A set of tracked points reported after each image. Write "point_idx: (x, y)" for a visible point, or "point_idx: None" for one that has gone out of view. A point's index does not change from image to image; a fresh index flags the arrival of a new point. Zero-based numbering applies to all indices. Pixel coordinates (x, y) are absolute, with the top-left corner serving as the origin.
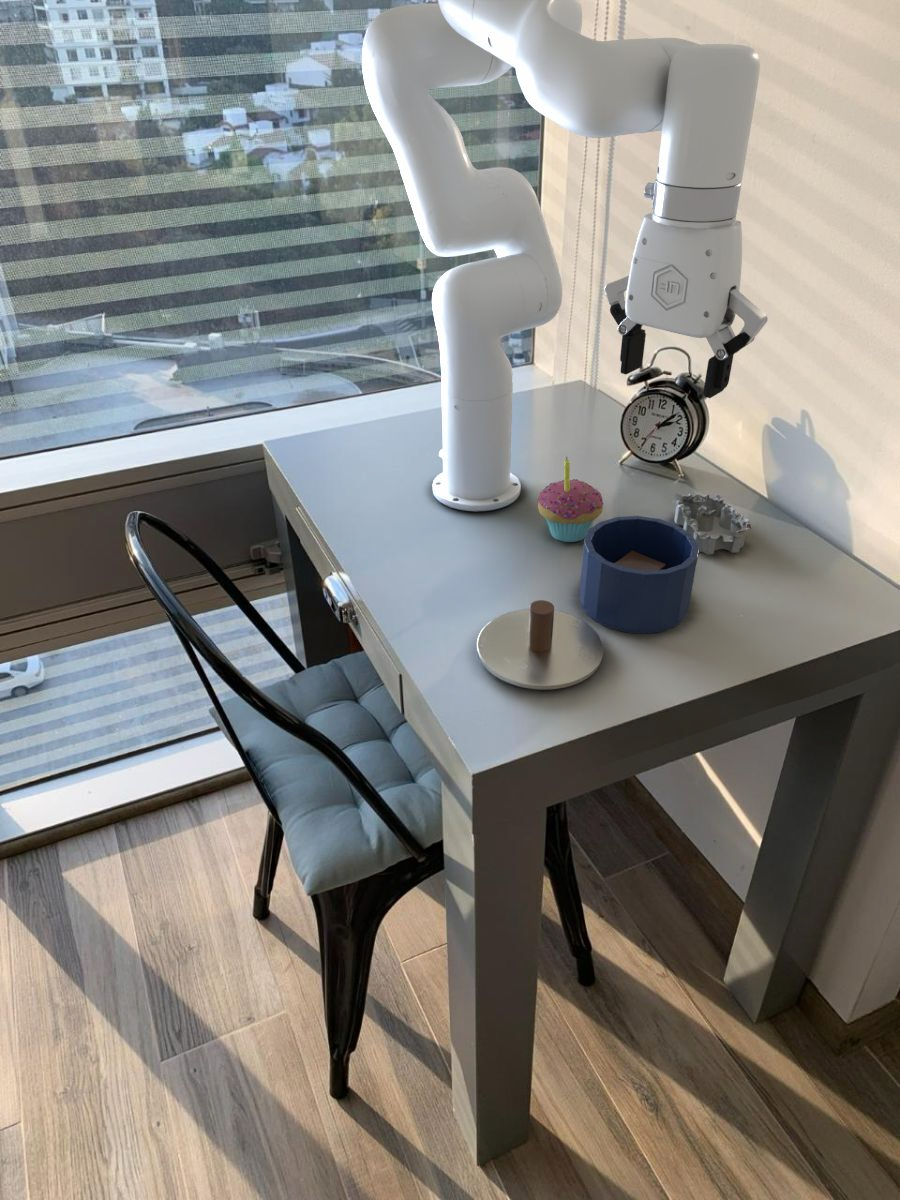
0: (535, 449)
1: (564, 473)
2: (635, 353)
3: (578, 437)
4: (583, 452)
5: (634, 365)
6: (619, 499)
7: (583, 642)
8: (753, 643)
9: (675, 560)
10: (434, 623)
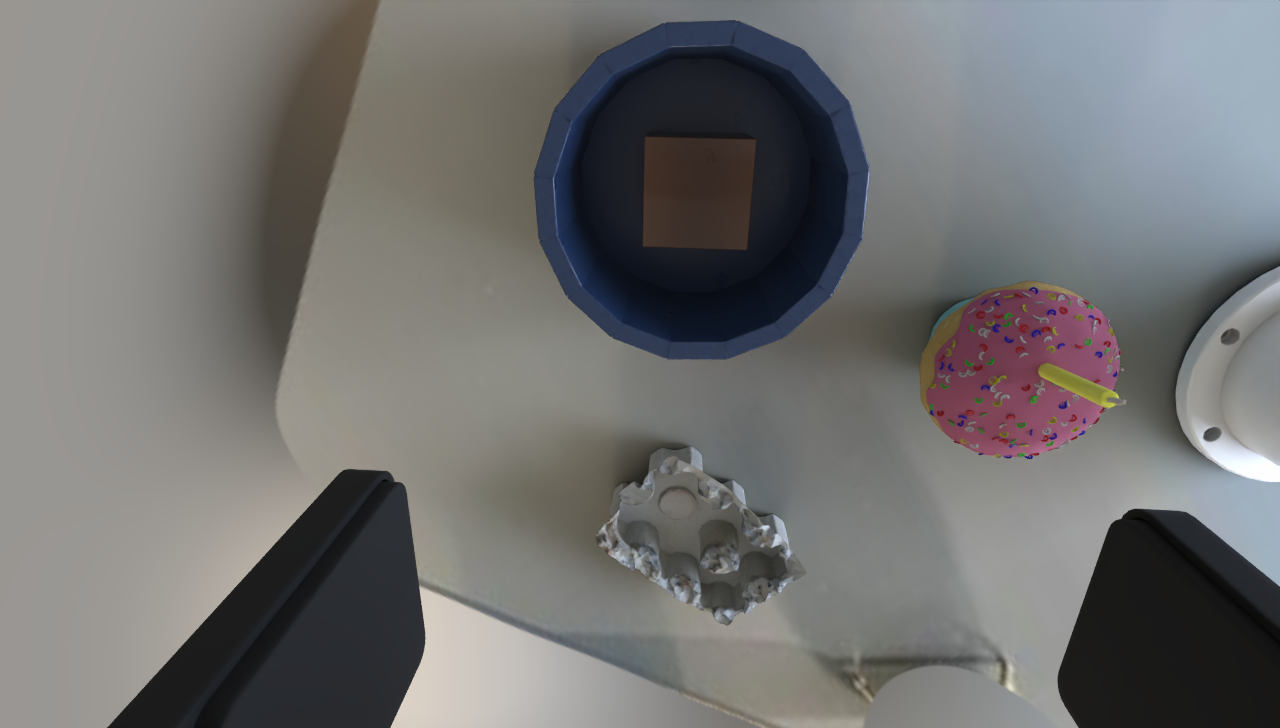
0: None
1: (1088, 380)
2: (1189, 723)
3: None
4: None
5: (1111, 633)
6: (934, 534)
7: None
8: (416, 213)
9: (650, 305)
10: None
